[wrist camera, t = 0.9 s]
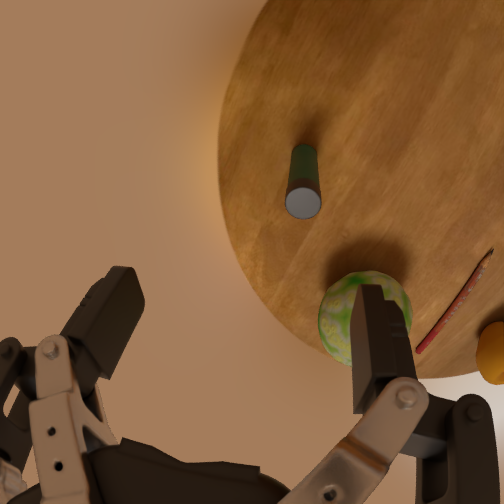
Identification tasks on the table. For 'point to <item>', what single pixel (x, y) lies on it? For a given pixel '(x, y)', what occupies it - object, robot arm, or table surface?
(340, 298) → the decorative ball
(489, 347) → the apple
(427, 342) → the pencil
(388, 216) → the table surface
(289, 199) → the marker
